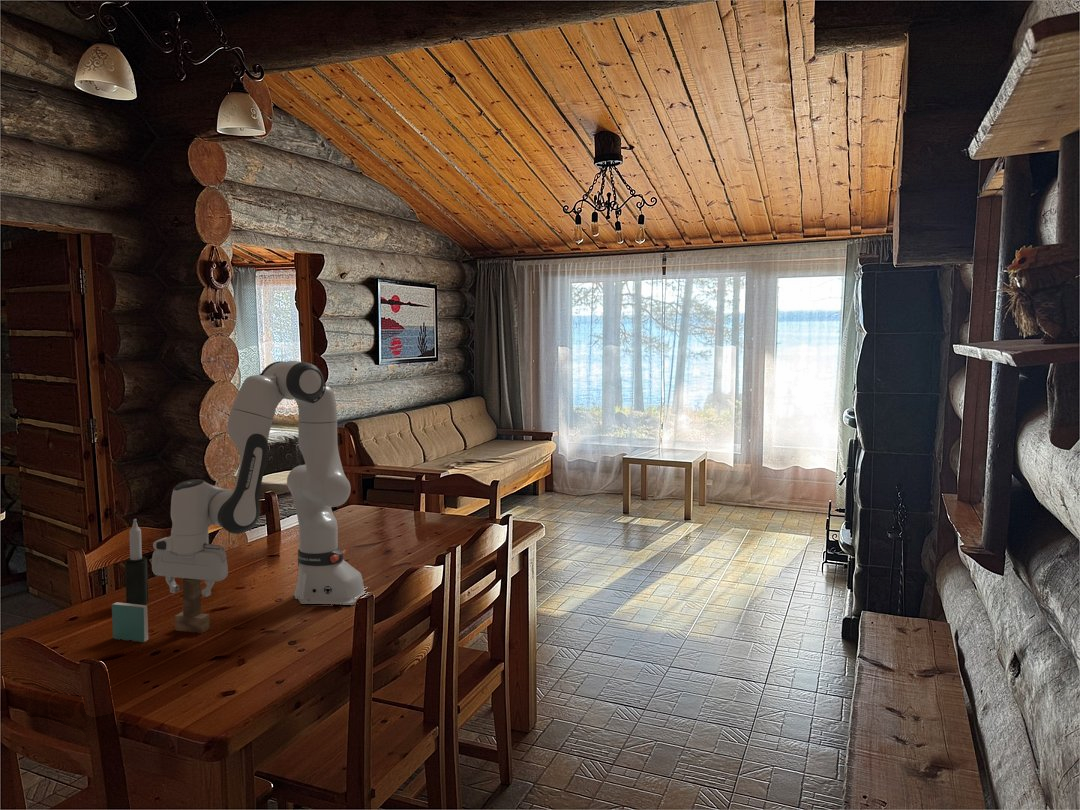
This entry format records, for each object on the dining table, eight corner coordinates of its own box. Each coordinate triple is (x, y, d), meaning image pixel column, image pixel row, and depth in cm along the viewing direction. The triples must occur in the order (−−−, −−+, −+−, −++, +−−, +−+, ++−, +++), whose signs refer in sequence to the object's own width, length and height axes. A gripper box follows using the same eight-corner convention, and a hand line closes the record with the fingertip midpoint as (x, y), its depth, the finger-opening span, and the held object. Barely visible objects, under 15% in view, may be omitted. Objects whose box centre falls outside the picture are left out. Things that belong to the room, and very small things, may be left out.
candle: (129, 601, 207) (126, 517, 204) (148, 600, 208) (146, 516, 206) (125, 608, 202) (122, 521, 200) (146, 606, 204) (143, 520, 201)
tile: (148, 639, 181) (147, 605, 181) (143, 642, 180) (142, 607, 179) (117, 636, 183) (116, 602, 182) (112, 638, 182) (111, 604, 181)
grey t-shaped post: (209, 628, 189) (208, 577, 188) (202, 633, 186) (201, 581, 185) (183, 625, 190) (181, 574, 189) (175, 630, 188) (173, 578, 186)
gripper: (233, 542, 187) (233, 593, 188) (164, 536, 191) (165, 586, 192) (217, 548, 181) (218, 602, 182) (147, 542, 185) (148, 594, 186)
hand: (190, 594), depth 187 cm, fingers open, 8 cm apart
